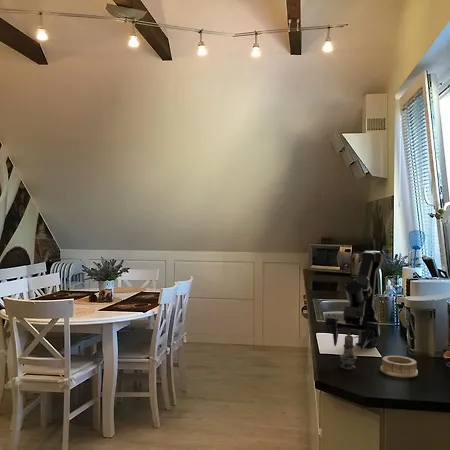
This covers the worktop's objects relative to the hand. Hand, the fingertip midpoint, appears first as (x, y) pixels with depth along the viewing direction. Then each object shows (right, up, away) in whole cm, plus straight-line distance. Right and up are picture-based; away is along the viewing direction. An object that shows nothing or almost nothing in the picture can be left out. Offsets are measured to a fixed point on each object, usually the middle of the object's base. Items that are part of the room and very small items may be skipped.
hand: (348, 347), depth 175 cm
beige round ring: (+17, -8, -3) cm, 19 cm away
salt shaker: (0, -7, +1) cm, 7 cm away
